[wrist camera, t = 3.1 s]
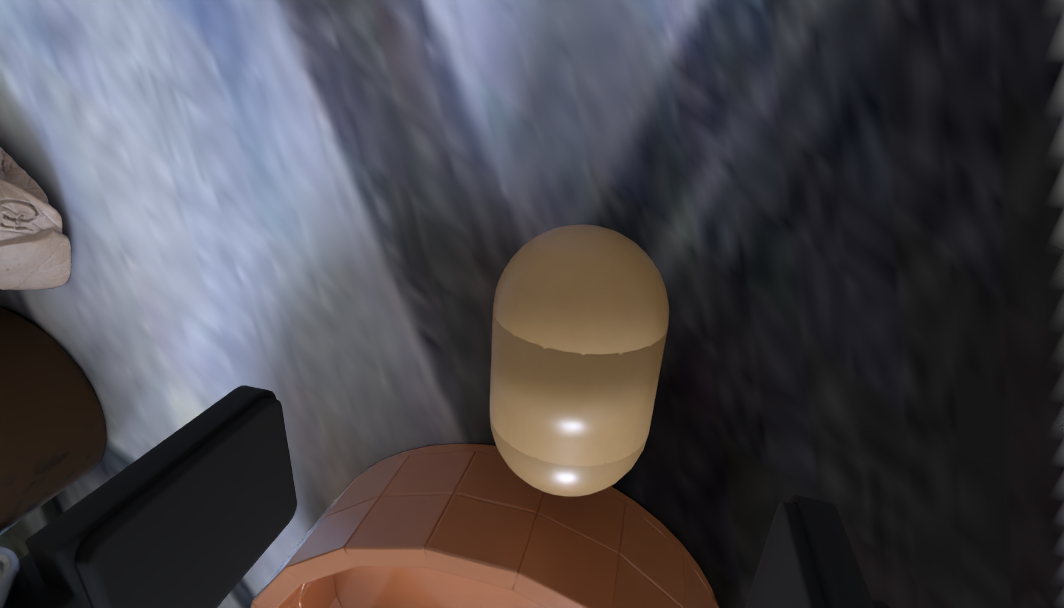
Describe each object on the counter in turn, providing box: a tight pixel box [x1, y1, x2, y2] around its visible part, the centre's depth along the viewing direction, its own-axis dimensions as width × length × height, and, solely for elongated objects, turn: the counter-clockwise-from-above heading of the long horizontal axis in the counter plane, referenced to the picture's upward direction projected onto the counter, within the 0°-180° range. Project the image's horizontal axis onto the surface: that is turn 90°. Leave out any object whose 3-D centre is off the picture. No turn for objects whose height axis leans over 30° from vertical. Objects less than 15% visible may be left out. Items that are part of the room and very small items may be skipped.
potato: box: [490, 224, 669, 496], centre depth 15 cm, size 8×5×5 cm, turn 177°
